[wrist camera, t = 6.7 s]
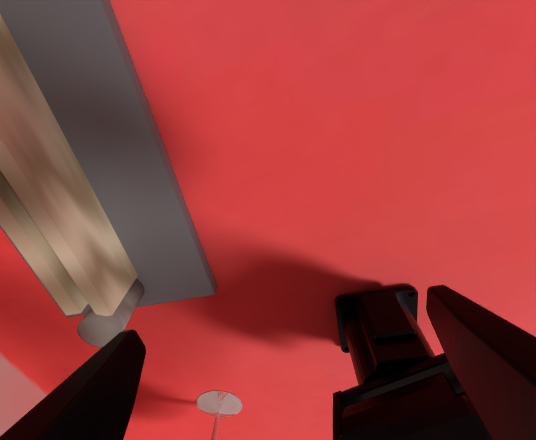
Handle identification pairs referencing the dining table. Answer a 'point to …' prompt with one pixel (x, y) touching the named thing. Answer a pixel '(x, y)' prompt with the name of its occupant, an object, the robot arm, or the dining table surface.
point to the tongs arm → (38, 251)
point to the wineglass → (218, 406)
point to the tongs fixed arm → (62, 200)
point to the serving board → (112, 139)
